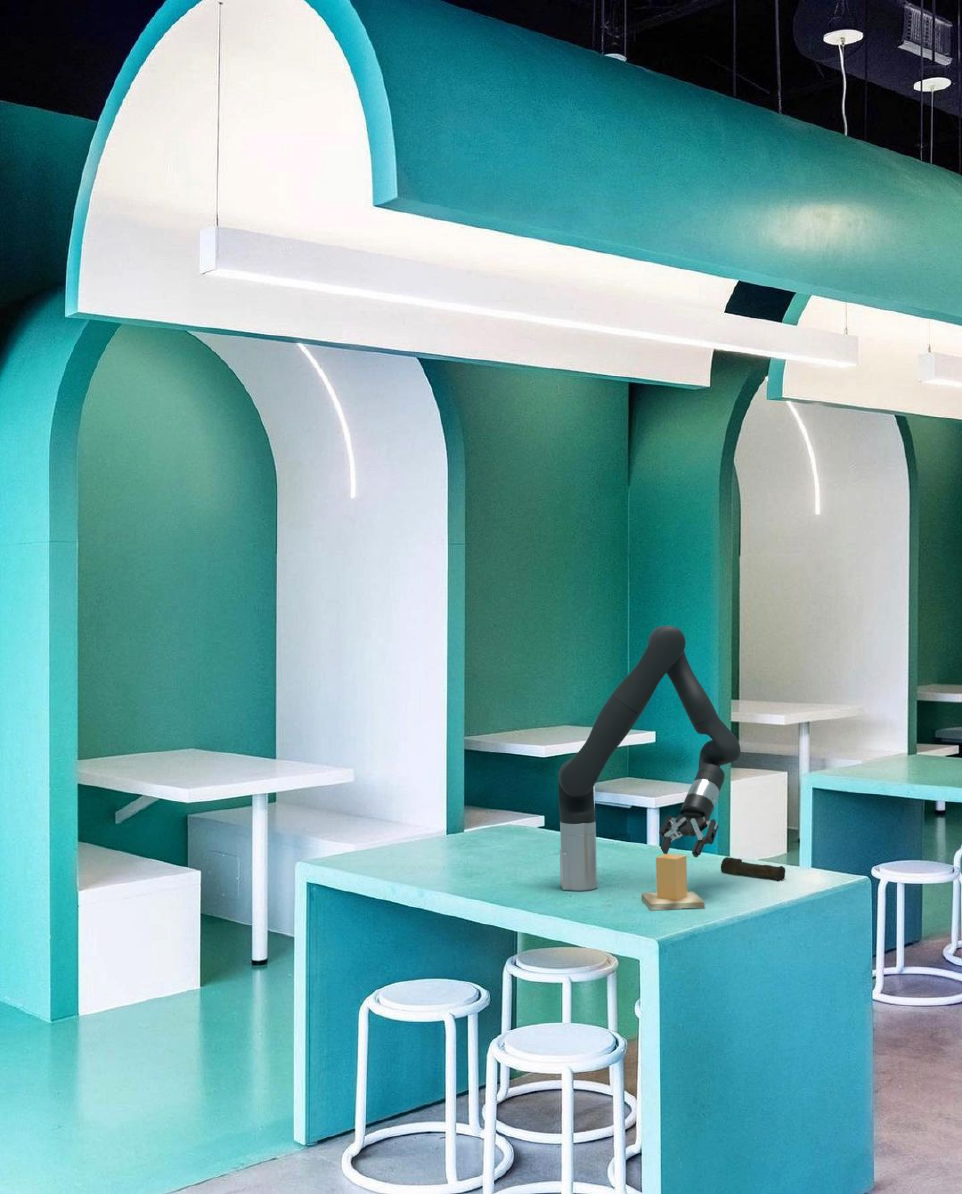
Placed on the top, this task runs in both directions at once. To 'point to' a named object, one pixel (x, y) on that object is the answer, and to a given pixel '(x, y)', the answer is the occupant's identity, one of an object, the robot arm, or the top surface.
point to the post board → (672, 902)
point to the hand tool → (751, 869)
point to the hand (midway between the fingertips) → (679, 853)
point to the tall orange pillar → (671, 877)
